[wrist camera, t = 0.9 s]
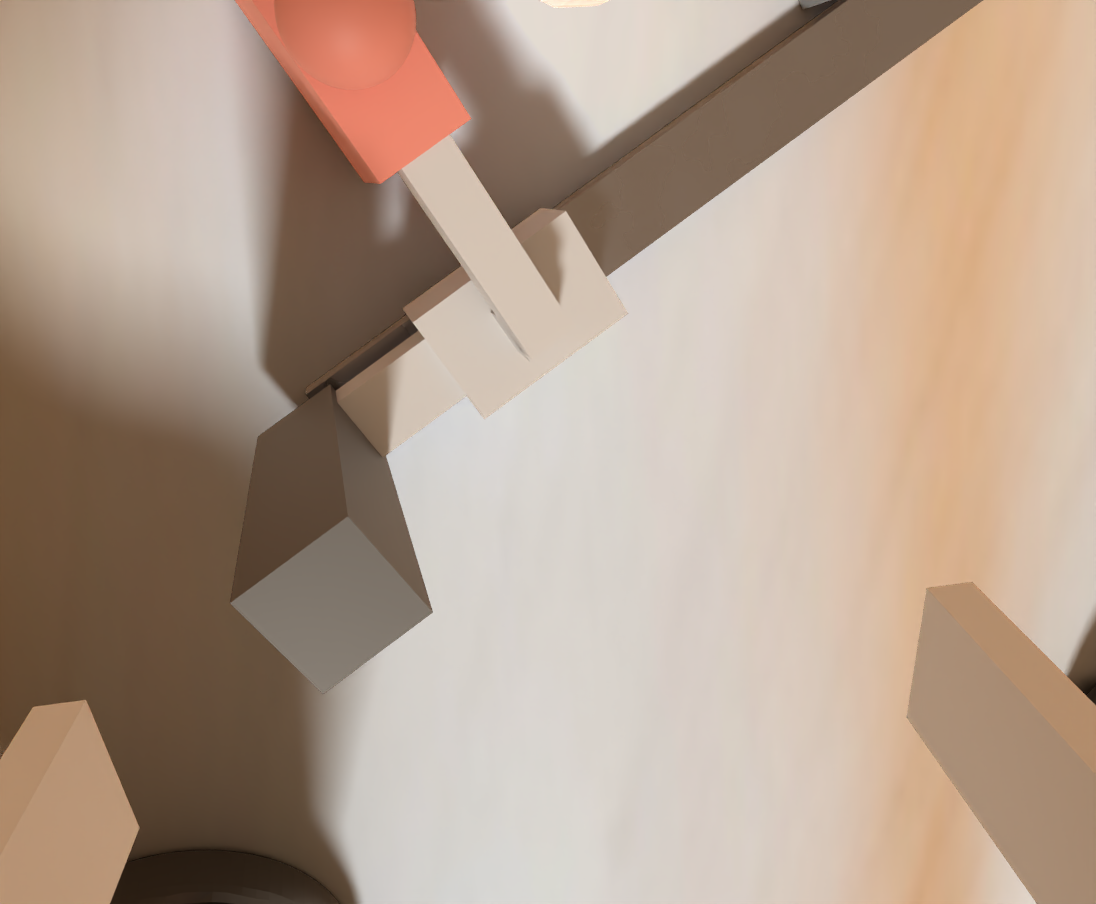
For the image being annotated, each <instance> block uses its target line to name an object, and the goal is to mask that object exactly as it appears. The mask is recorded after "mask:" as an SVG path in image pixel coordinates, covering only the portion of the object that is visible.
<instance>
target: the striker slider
mask: <svg viewBox="0 0 1096 904" xmlns="http://www.w3.org/2000/svg"><path fill="white" fill-rule="evenodd" d="M235 1H236V3H237V4H238V5H239V7H240V8H241V10H242V11H243V12H244V14H245V15H246V17H247V18H248V19H249V21H250V22H251V24H252V25H253V27H254V28H255V29H256V31H257V32H258V34H259V35H260V36H261V38H262V39H263V41H264V42H265V43H266V45H267V46H268V48H269V49H270V50H271V52H272V53H273V55H274V56H275V58H276V59H277V60H278V62H279V63H280V65H281V66H282V67H283V69H284V70H285V72H286V73H287V74H288V76H289V77H290V79H291V80H292V81H293V83H294V84H295V86H296V87H297V89H298V90H299V91H300V93H301V94H302V96H303V97H304V98H305V100H306V101H307V103H308V104H309V105H310V107H311V108H312V110H313V111H314V113H315V114H316V115H317V117H318V118H319V120H320V121H321V122H322V124H323V125H324V127H325V128H326V129H327V131H328V132H329V134H330V135H331V136H332V138H333V139H334V141H335V142H336V144H337V145H338V146H339V148H340V149H341V151H342V152H343V153H344V155H345V156H346V158H347V159H348V160H349V162H350V163H351V165H352V166H353V167H354V169H355V170H356V172H357V173H358V175H359V176H360V177H361V179H362V180H363V182H366V183H376V184H381V183H382V182H384V181H385V180H387V179H388V178H389V177H391V176H392V175H394V174H395V173H396V172H398V174H399V175H400V177H401V178H402V180H403V181H404V183H405V184H406V186H407V187H408V188H409V190H410V191H411V193H412V194H413V196H414V197H415V199H416V200H417V202H418V203H419V204H420V206H421V207H422V209H423V210H424V212H425V213H426V215H427V216H428V218H429V219H430V220H431V222H432V223H433V225H434V226H435V228H436V229H437V231H438V232H439V234H440V235H441V236H442V238H443V239H444V241H445V242H446V244H447V245H448V247H449V248H450V250H451V251H452V252H453V254H454V255H455V257H456V258H457V260H458V261H459V263H460V264H461V266H460V267H459V268H457V269H456V270H455V271H453V272H452V273H450V274H449V275H448V276H446V277H445V278H444V279H442V280H441V281H439V282H438V283H437V284H435V285H434V286H433V287H431V288H430V289H428V290H427V291H426V292H424V293H423V294H422V295H420V296H419V297H417V298H416V299H415V300H413V301H412V302H411V303H409V304H408V305H406V306H405V307H404V308H402V309H403V310H404V312H405V313H406V314H407V316H408V317H409V318H410V320H411V321H412V323H413V324H414V325H415V327H416V328H417V329H418V331H417V332H416V333H414V334H413V335H412V336H410V337H409V338H408V339H406V340H405V341H403V342H402V343H401V344H399V345H398V346H397V347H395V348H394V349H392V350H391V351H390V352H388V353H387V354H386V355H384V356H383V357H382V358H380V359H379V360H377V361H376V362H375V363H373V364H372V365H371V366H369V367H368V368H366V369H365V370H364V371H362V372H361V373H360V374H358V375H357V376H355V377H354V378H353V379H351V380H350V381H349V382H347V383H346V384H344V385H343V386H342V387H340V388H339V389H338V390H336V391H335V390H334V388H333V387H332V386H331V385H330V384H329V385H328V386H327V387H325V388H324V389H323V390H321V391H320V392H319V393H317V394H316V395H314V396H313V397H312V398H310V399H309V400H308V401H306V402H305V403H303V404H302V405H301V406H299V407H298V408H297V409H295V410H294V411H292V412H291V413H290V414H288V415H287V416H286V417H284V418H283V419H281V420H280V421H279V422H277V423H276V424H275V425H273V426H272V427H270V428H269V429H268V430H266V431H265V432H264V433H262V434H261V435H259V436H258V439H257V445H256V451H255V457H254V463H253V469H252V475H251V481H250V487H249V493H248V499H247V505H246V511H245V517H244V522H243V528H242V534H241V540H240V546H239V552H238V558H237V564H236V570H235V576H234V582H233V588H232V594H231V600H230V604H231V605H232V606H233V607H234V608H235V609H236V610H237V611H238V612H239V613H240V614H241V615H242V616H243V617H244V618H245V619H246V620H248V621H249V622H250V623H251V624H252V625H253V626H254V627H255V628H256V629H257V630H258V631H259V632H260V633H261V634H262V635H263V636H264V637H265V638H266V639H267V640H268V641H269V642H270V643H271V644H272V645H273V646H274V647H275V648H276V649H277V650H278V651H279V652H280V653H281V654H282V655H283V656H284V657H285V658H286V659H288V660H289V661H290V662H291V663H292V664H293V665H294V666H295V667H296V668H297V669H298V670H299V671H300V672H301V673H302V674H303V675H304V676H305V677H306V678H307V679H308V680H309V681H310V682H311V683H312V684H313V685H314V686H315V687H316V688H317V689H318V690H319V691H320V692H321V693H322V694H324V693H325V692H327V691H328V690H329V689H331V688H332V687H334V686H335V685H336V684H338V683H339V682H340V681H342V680H343V679H344V678H346V677H347V676H348V675H350V674H351V673H352V672H354V671H355V670H356V669H358V668H359V667H360V666H362V665H363V664H364V663H366V662H367V661H368V660H370V659H371V658H372V657H374V656H375V655H376V654H378V653H379V652H380V651H382V650H383V649H384V648H386V647H387V646H388V645H390V644H391V643H392V642H394V641H395V640H396V639H398V638H399V637H400V636H402V635H403V634H405V633H406V632H407V631H409V630H410V629H411V628H413V627H414V626H415V625H417V624H418V623H419V622H421V621H422V620H423V619H425V618H426V617H427V616H429V615H430V614H431V613H433V611H432V608H431V605H430V601H429V598H428V595H427V591H426V588H425V585H424V581H423V578H422V575H421V571H420V568H419V565H418V561H417V558H416V555H415V551H414V548H413V545H412V541H411V538H410V535H409V531H408V528H407V525H406V521H405V518H404V515H403V511H402V508H401V505H400V501H399V498H398V495H397V491H396V488H395V485H394V482H393V478H392V475H391V472H390V468H389V465H388V462H387V458H386V455H387V454H388V453H390V452H391V451H392V450H394V449H395V448H396V447H398V446H399V445H401V444H402V443H403V442H405V441H406V440H407V439H409V438H410V437H411V436H413V435H414V434H416V433H417V432H418V431H420V430H421V429H422V428H424V427H425V426H426V425H428V424H429V423H431V422H432V421H433V420H435V419H436V418H437V417H439V416H440V415H441V414H443V413H444V412H445V411H447V410H448V409H450V408H451V407H452V406H454V405H455V404H456V403H458V402H459V401H460V400H462V399H463V398H465V397H466V396H467V397H468V398H469V399H470V401H471V402H472V403H473V405H474V406H475V407H476V409H477V410H478V411H479V413H480V414H481V415H482V417H483V418H484V419H486V418H487V417H488V416H490V415H491V414H492V413H494V412H495V411H496V410H498V409H499V408H500V407H502V406H503V405H505V404H506V403H507V402H509V401H510V400H511V399H513V398H514V397H515V396H517V395H518V394H519V393H521V392H522V391H524V390H525V389H526V388H528V387H529V386H530V385H532V384H533V383H534V382H536V381H537V380H538V379H540V378H541V377H543V376H544V375H545V374H547V373H548V372H549V371H551V370H552V369H553V368H555V367H556V366H557V365H559V364H560V363H562V362H563V361H564V360H566V359H567V358H568V357H570V356H571V355H572V354H574V353H575V352H576V351H578V350H579V349H581V348H582V347H583V346H585V345H586V344H587V343H589V342H590V341H591V340H593V339H594V338H595V337H597V336H598V335H600V334H601V333H602V332H604V331H605V330H606V329H608V328H609V327H610V326H612V325H613V324H614V323H616V322H617V321H619V320H620V319H621V318H623V317H624V316H625V315H627V314H628V312H627V311H626V309H625V308H624V306H623V304H622V303H621V301H620V299H619V298H618V296H617V294H616V293H615V291H614V289H613V288H612V286H611V284H610V283H609V281H608V280H607V278H606V276H605V275H604V273H603V271H602V270H601V268H600V266H599V265H598V263H597V261H596V260H595V258H594V256H593V255H592V253H591V251H590V250H589V248H588V247H587V245H586V243H585V242H584V240H583V238H582V237H581V235H580V233H579V232H578V230H577V228H576V227H575V225H574V223H573V222H572V220H571V218H570V217H569V215H568V214H567V212H566V211H562V210H554V209H547V208H540V209H539V210H537V211H536V212H534V213H533V214H532V215H530V216H529V217H528V218H526V219H525V220H523V221H522V222H521V223H519V224H518V225H517V226H515V227H514V228H512V229H510V227H509V225H508V224H507V222H506V221H505V219H504V218H503V216H502V215H501V213H500V211H499V210H498V208H497V207H496V205H495V204H494V202H493V201H492V199H491V197H490V196H489V194H488V193H487V191H486V190H485V188H484V187H483V185H482V184H481V182H480V180H479V179H478V177H477V176H476V174H475V173H474V171H473V170H472V168H471V166H470V165H469V163H468V162H467V160H466V159H465V157H464V156H463V154H462V152H461V151H460V149H459V148H458V146H457V145H456V143H455V142H454V140H453V139H452V137H451V135H450V134H451V133H452V132H454V131H455V130H456V129H458V128H459V127H460V126H462V125H463V124H465V123H466V122H467V121H469V120H470V119H471V117H470V116H469V114H468V113H467V111H466V109H465V108H464V106H463V105H462V103H461V101H460V100H459V98H458V97H457V95H456V94H455V92H454V90H453V89H452V87H451V86H450V84H449V82H448V81H447V79H446V78H445V76H444V74H443V73H442V71H441V70H440V68H439V66H438V65H437V63H436V62H435V60H434V58H433V57H432V55H431V54H430V52H429V50H428V49H427V47H426V46H425V44H424V43H423V41H422V39H421V38H420V36H419V35H418V33H417V31H416V11H415V4H414V0H235Z"/></svg>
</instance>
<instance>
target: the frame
mask: <svg viewBox="0 0 1096 904" xmlns="http://www.w3.org/2000/svg"><path fill="white" fill-rule="evenodd" d="M827 1H830V0H799V2H800V5H801V7H802V9H806V8H809V7H812V6H815V5H818V4H821V3H824V2H827Z"/></svg>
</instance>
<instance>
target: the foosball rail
mask: <svg viewBox="0 0 1096 904" xmlns="http://www.w3.org/2000/svg"><path fill="white" fill-rule="evenodd" d="M981 1H983V0H838V1H837V2H836V3H834V4H833V5H832V6H830V7H829V8H827V9H826V10H825V11H823V12H822V13H821V14H819V15H818V16H816V17H815V18H814V19H812V20H811V21H810V22H808V23H807V24H805V25H804V26H803V27H801V28H800V29H799V30H797V31H796V32H794V33H793V34H792V35H790V36H789V37H788V38H786V39H785V40H783V41H782V42H781V43H779V44H778V45H777V46H775V47H774V48H772V49H771V50H770V51H768V52H767V53H766V54H764V55H763V56H761V57H760V58H759V59H757V60H756V61H755V62H753V63H752V64H750V65H749V66H748V67H746V68H745V69H744V70H742V71H741V72H739V73H738V74H737V75H735V76H734V77H733V78H731V79H730V80H728V81H727V82H726V83H724V84H723V85H722V86H720V87H719V88H717V89H716V90H715V91H713V92H712V93H711V94H709V95H708V96H706V97H705V98H704V99H702V100H701V101H700V102H698V103H697V104H695V105H694V106H693V107H691V108H690V109H689V110H687V111H686V112H684V113H683V114H682V115H680V116H679V117H678V118H676V119H675V120H673V121H672V122H671V123H669V124H668V125H667V126H665V127H664V128H662V129H661V130H660V131H658V132H657V133H656V134H654V135H653V136H651V137H650V138H649V139H647V140H646V141H645V142H643V143H642V144H640V145H639V146H638V147H636V148H635V149H634V150H632V151H631V152H629V153H628V154H627V155H625V156H624V157H623V158H621V159H620V160H618V161H617V162H616V163H614V164H613V165H612V166H610V167H609V168H607V169H606V170H605V171H603V172H602V173H601V174H599V175H598V176H596V177H595V178H594V179H592V180H591V181H590V182H588V183H587V184H585V185H584V186H583V187H581V188H580V189H579V190H577V191H576V192H574V193H573V194H572V195H570V196H569V197H568V198H566V199H565V200H563V201H562V202H561V203H559V204H558V205H557V206H555V207H554V208H552V209H554V210H562V211H566V212H567V214H568V215H569V217H570V218H571V220H572V222H573V223H574V225H575V227H576V228H577V230H578V232H579V233H580V235H581V237H582V238H583V240H584V242H585V243H586V245H587V247H588V248H589V250H590V251H591V253H592V255H593V256H594V258H595V260H596V261H597V263H598V265H599V266H600V268H601V270H602V271H603V273H604V275H605V276H608V275H609V274H611V273H612V272H613V271H615V270H616V269H617V268H619V267H620V266H621V265H623V264H624V263H626V262H627V261H628V260H630V259H631V258H632V257H634V256H635V255H636V254H638V253H639V252H641V251H642V250H643V249H645V248H646V247H647V246H649V245H650V244H651V243H653V242H654V241H656V240H657V239H658V238H660V237H661V236H662V235H664V234H665V233H666V232H668V231H669V230H671V229H672V228H673V227H675V226H676V225H677V224H679V223H680V222H681V221H683V220H684V219H686V218H687V217H688V216H690V215H691V214H692V213H694V212H695V211H696V210H698V209H699V208H701V207H702V206H703V205H705V204H706V203H707V202H709V201H710V200H711V199H713V198H714V197H715V196H717V195H718V194H720V193H721V192H722V191H724V190H725V189H726V188H728V187H729V186H730V185H732V184H733V183H735V182H736V181H737V180H739V179H740V178H741V177H743V176H744V175H745V174H747V173H748V172H750V171H751V170H752V169H754V168H755V167H756V166H758V165H759V164H760V163H762V162H763V161H765V160H766V159H767V158H769V157H770V156H771V155H773V154H774V153H775V152H777V151H778V150H780V149H781V148H782V147H784V146H785V145H786V144H788V143H789V142H790V141H792V140H793V139H795V138H796V137H797V136H799V135H800V134H801V133H803V132H804V131H805V130H807V129H808V128H810V127H811V126H812V125H814V124H815V123H816V122H818V121H819V120H820V119H822V118H823V117H825V116H826V115H827V114H829V113H830V112H831V111H833V110H834V109H835V108H837V107H838V106H839V105H841V104H842V103H844V102H845V101H846V100H848V99H849V98H850V97H852V96H853V95H854V94H856V93H857V92H859V91H860V90H861V89H863V88H864V87H865V86H867V85H868V84H869V83H871V82H872V81H874V80H875V79H876V78H878V77H879V76H880V75H882V74H883V73H884V72H886V71H887V70H889V69H890V68H891V67H893V66H894V65H895V64H897V63H898V62H899V61H901V60H902V59H904V58H905V57H906V56H908V55H909V54H910V53H912V52H913V51H914V50H916V49H917V48H919V47H920V46H921V45H923V44H924V43H925V42H927V41H928V40H929V39H931V38H932V37H934V36H935V35H936V34H938V33H939V32H940V31H942V30H943V29H944V28H946V27H947V26H949V25H950V24H951V23H953V22H954V21H955V20H957V19H958V18H959V17H961V16H962V15H964V14H965V13H966V12H968V11H969V10H970V9H972V8H973V7H974V6H976V5H977V4H978V3H980V2H981ZM417 331H418V329H417V328H416V327H415V325H414V324H413V323H412V321H411V320H410V318H409V317H408V316H407V315H405V316H404V317H403V318H401V319H400V320H398V321H397V322H396V323H394V324H393V325H392V326H390V327H389V328H387V329H386V330H385V331H383V332H382V333H381V334H379V335H378V336H376V337H375V338H374V339H372V340H371V341H370V342H368V343H367V344H365V345H364V346H363V347H361V348H360V349H359V350H357V351H356V352H354V353H353V354H352V355H350V356H349V357H348V358H346V359H345V360H343V361H342V362H341V363H339V364H338V365H337V366H335V367H334V368H332V369H331V370H330V371H328V372H327V373H326V374H324V375H323V376H321V377H320V378H319V379H317V380H316V381H315V382H313V383H312V384H310V385H309V386H308V387H306V395H307V396H308V398H309V399H310V398H312V397H313V396H314V395H316V394H317V393H319V392H320V391H321V390H323V389H324V388H325V387H327V386H328V385H329V384H330V385H331V386H332V387H333V388H334V390H335V391H336V390H338V389H339V388H340V387H342V386H343V385H344V384H346V383H347V382H349V381H350V380H351V379H353V378H354V377H355V376H357V375H358V374H360V373H361V372H362V371H364V370H365V369H366V368H368V367H369V366H371V365H372V364H373V363H375V362H376V361H377V360H379V359H380V358H382V357H383V356H384V355H386V354H387V353H388V352H390V351H391V350H392V349H394V348H395V347H397V346H398V345H399V344H401V343H402V342H403V341H405V340H406V339H408V338H409V337H410V336H412V335H413V334H414V333H416V332H417Z"/></svg>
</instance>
